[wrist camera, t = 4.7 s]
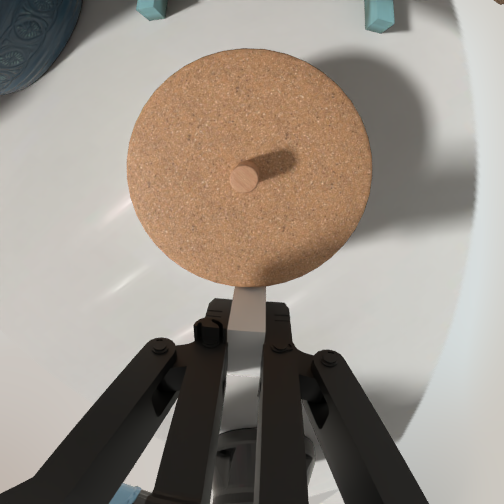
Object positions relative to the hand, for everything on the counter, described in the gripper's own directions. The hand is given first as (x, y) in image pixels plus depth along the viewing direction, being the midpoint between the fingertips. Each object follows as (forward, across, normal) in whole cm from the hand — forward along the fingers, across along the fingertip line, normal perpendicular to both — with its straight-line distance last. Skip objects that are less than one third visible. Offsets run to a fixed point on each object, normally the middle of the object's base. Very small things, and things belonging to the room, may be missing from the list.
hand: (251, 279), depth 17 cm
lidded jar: (+4, 0, -7) cm, 8 cm away
